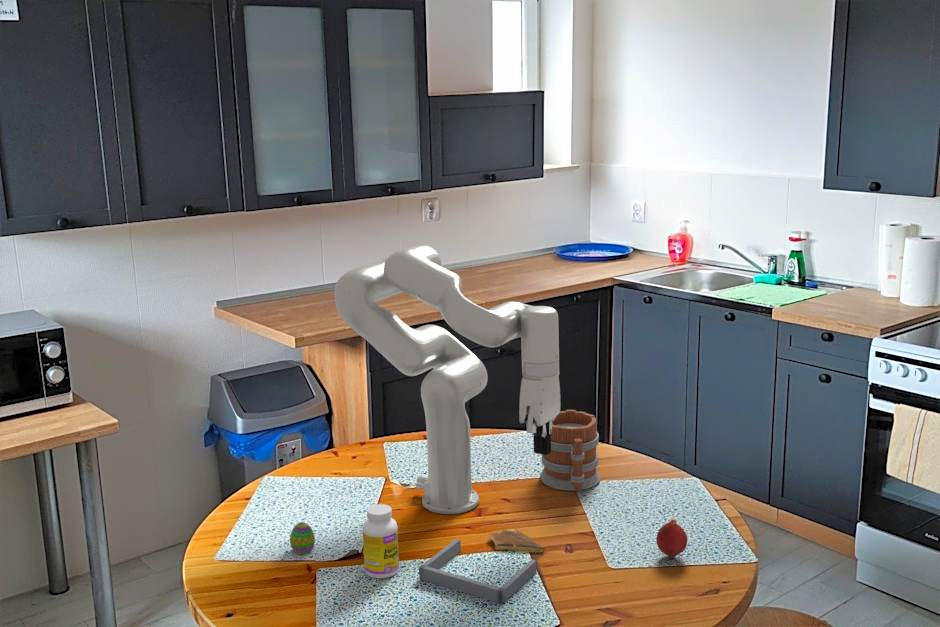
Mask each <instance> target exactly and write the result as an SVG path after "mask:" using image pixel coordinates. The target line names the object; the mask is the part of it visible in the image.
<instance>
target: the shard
mask: <svg viewBox="0 0 940 627" xmlns="http://www.w3.org/2000/svg"><path fill="white" fill-rule="evenodd" d="M488 539H489V540H491V541H492V542H493V543H494V550H496V551H505V550H506V551H515V552H525V553H544V552H545V551H546V547H544V546H542V545H541V544H539V543H537V542H536V541H535V540H534V539H532V538H531V537H529V536H528V535H527V534H524V532H521V531H519V530H518V529H508V528H507V529H504V530H501V531H498V532H493V533H490V534H489V535H488Z"/></svg>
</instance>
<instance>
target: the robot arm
mask: <svg viewBox="0 0 940 627" xmlns="http://www.w3.org/2000/svg"><path fill="white" fill-rule="evenodd" d="M462 283H463V281H462V278H461V277H460V275H458V273H455V272H453V271H452V270H449V269H447V268H445V267H443V266H442V259H441V257H440V255H439V254H438V252H437V251H436V250H435V249H434V248H432V247H430V246H429V245H424V244H415V245H412V246H410V247H406V248H403V249H399V250H397V251H395V252H393V253H392V254H390V255H389V256H388V257H387V258H385V259H382V260H378V261H376V262H372V263H369V264H365V265H362V266H358V267H355V268H354V269H352V270H349V271H347V272H345V273H344V274H342V275H341V276H340V278H339V279H338V280H337V281H336V284H335V287H334V294H333V296H334V297H333V298H334V304H335V308H336V311H337V312H338V315H339V316H340V318H341V319H342V320H343V321H344V323H345V324H346V325H347V326H348V327H349V328H350V329H352V330H353V331H354V332H355V333H357V334H358V335H359V336H360V337H362V338H363V339H364V340H366V341H367V342H368V343H369V344H370V345H371V346H372V347H373V348H374V349H375V350H376V351H377V352H379V354H381V355H382V356H383V357H384V358H385V359H386V360H387V361H388V362H390V364H391V365H392V366H394V368H396V369H397V370H398V371H399V372H400V373H402V374H403V375H405V376H408V377H414V376H415V377H416V376H418V375H421V374H424V373H425V372H427V371H429V370H430V371H429V372H428V373H427V374H426V375H425V376H424V378H423V380H422V382H421V386H420V397H421V401H422V405H423V406H422V407H423V410H424V416H425V425H426V426H425V427H426V430H425V431H426V447H427V448H426V449H427V450H426V452H427V474H428V475H427V476H428V477H425V476H421V475H420V476H418V477H417V479H416V483H415V485H414V486H415V489H418V490H422V491H424V494H423V495H422V499H421V502H422V506H423V507H424V508H425V509H426V510H427V511H430V512H432V513H435V514H442V515H456V514H463V513H466V512H469V511H471V510H473V509H475V508H476V507H477V506H478V505H479V504H480V495H479V494H478V493H477V492H476V490H474V489H473V488H472V487H473V485H472V453H471V452H472V451H471V449H472V448H471V447H472V446H471V444H472V443H471V423H470V419H469V415H468V413H467V411H466V407H465V406H466V405H465V403H467V402H468V401H469V400H470V399H472V398H474V397H476V396H478V395H479V394H480V393H481V392H482V391H483V390H484V389H485V388H486V386H487V384H488V377H489V376H488V370H487V369H486V366H485V365H484V363H483V361H482V360H481V359H480V358H478V356H477V355H476V354H474V353H473V352H472V351H471V350H470V349H469V348H467V347H466V345H464V344H463V343H462V342H461V341H460V340H459V339H458V338H456V337H455V336H454V335H453V334H452V333H451V332H449V331H448V330H447V329H445V328H444V327H441V326H439V325H436V324H425V325H424V324H423V325H422V326H419V327H417V328H413V327H411V326H409V325H408V324H407V323H405V322H404V321H403V320H402V319H401V318H400V317H399V316H397V314H395V313H394V312H392V311H390V310H388V309H386V308H384V307H381V306H380V305H378V304H377V302H380V301H382V300H386V299H388V298H391V297H394V296H395V295H398V294H401V293H405V294H407V295H408V296H411V297H412V298H414V299H416V300H418V301H421V303H424V304H426V305H428V306H430V307H432V308H433V309H436V310H437V311H438V312H439V313H440V314H441V316H442V319H444V321H445V322H446V323H447V324H448V326H449V327H450V328H451V329H452V330H453V331H455V332H456V333H457V334H459V335H461V336H462V337H464V338H466V339H468V340H470V341H472V342H474V343H476V344H478V345H481V346H483V347H487V348H498V347H501V346H503V345H504V344H506V343H509V342H510V341H513V340H515V339H518V338H520V339H521V343H520V344H521V375H522V378H521V382H520V392H519V411H518V412H519V413H518V414H519V416H518V417H519V419H518V420H519V423H520V424H522V425H524V424H526V423H527V424H526V426H527V427H526V433H530V434H531V435H532V437H533V453H535V454H538V455H542V454H543V455H548V454H549V453H550V452H551V435H550V434H551V432H552V423H553V421H554V419H555V418H556V416H557V415H558V414H559V412H561V387H560V386H561V385H560V378H559V376H560V347H559V346H560V341H559V340H560V339H559V336H560V332H559V331H560V330H559V313H558V311H557V310H556V309H555V308H553V307H552V306H546V305H530V304H526V303H522V302H520V301H519V302H518V301H514V300H513V301H506V302H503V303H501V304H497V305H496V306H493V307H491V308H489V309H487V308H485V307H482V306H480V305H478V304H477V303H474V302H472V301H471V300H469V299H468V298H466V297H465V296H464V295H463V294H462V293H461V291H462V285H463V284H462Z"/></svg>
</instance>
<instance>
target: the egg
mask: <svg viewBox="0 0 940 627" xmlns="http://www.w3.org/2000/svg"><path fill="white" fill-rule="evenodd" d="M315 541H316V536H315V533H314V531H313V528H312V527H311V526H310V525H309V524H308V523H306V522H304V521H301V522H298V523H296V524H295V525H294V527H293V528H292V530H291V532H290V536H289V543H290V547H291V549H292V551H293V552H294V553H296V554H298V555H306V554H308V553H310V552H311V551H312V550H313V549H314V546H315V543H316V542H315Z"/></svg>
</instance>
